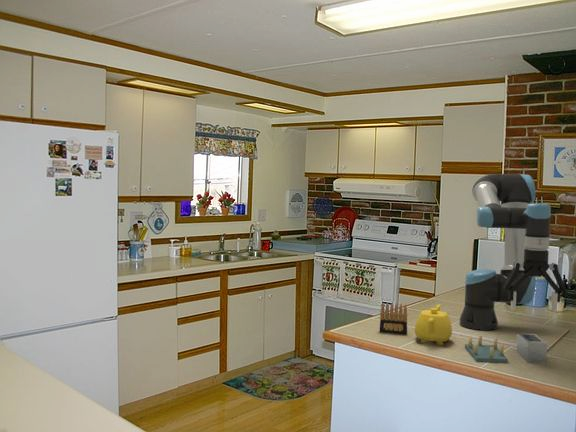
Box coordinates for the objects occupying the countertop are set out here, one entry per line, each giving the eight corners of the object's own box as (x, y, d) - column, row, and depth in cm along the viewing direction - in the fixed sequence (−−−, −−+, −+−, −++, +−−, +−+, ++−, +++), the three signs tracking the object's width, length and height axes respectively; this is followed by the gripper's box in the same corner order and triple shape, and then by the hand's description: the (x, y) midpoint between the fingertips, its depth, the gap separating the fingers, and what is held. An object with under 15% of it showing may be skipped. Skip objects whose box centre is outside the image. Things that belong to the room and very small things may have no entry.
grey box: (516, 352, 191) (517, 332, 191) (533, 353, 191) (534, 333, 190) (527, 362, 180) (528, 342, 180) (545, 363, 180) (546, 342, 179)
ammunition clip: (407, 333, 212) (408, 303, 211) (406, 334, 210) (407, 304, 209) (379, 331, 215) (380, 301, 214) (379, 332, 213) (380, 302, 212)
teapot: (454, 335, 210) (456, 304, 209) (448, 350, 192) (449, 316, 191) (420, 331, 215) (421, 300, 215) (410, 345, 197) (411, 311, 196)
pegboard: (464, 347, 195) (465, 334, 195) (494, 348, 195) (494, 335, 194) (476, 361, 181) (476, 347, 180) (507, 362, 180) (508, 348, 179)
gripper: (502, 249, 180) (499, 312, 181) (579, 251, 178) (576, 314, 180) (495, 246, 187) (492, 306, 189) (569, 248, 186) (566, 309, 187)
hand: (533, 310), depth 184 cm, fingers open, 13 cm apart
